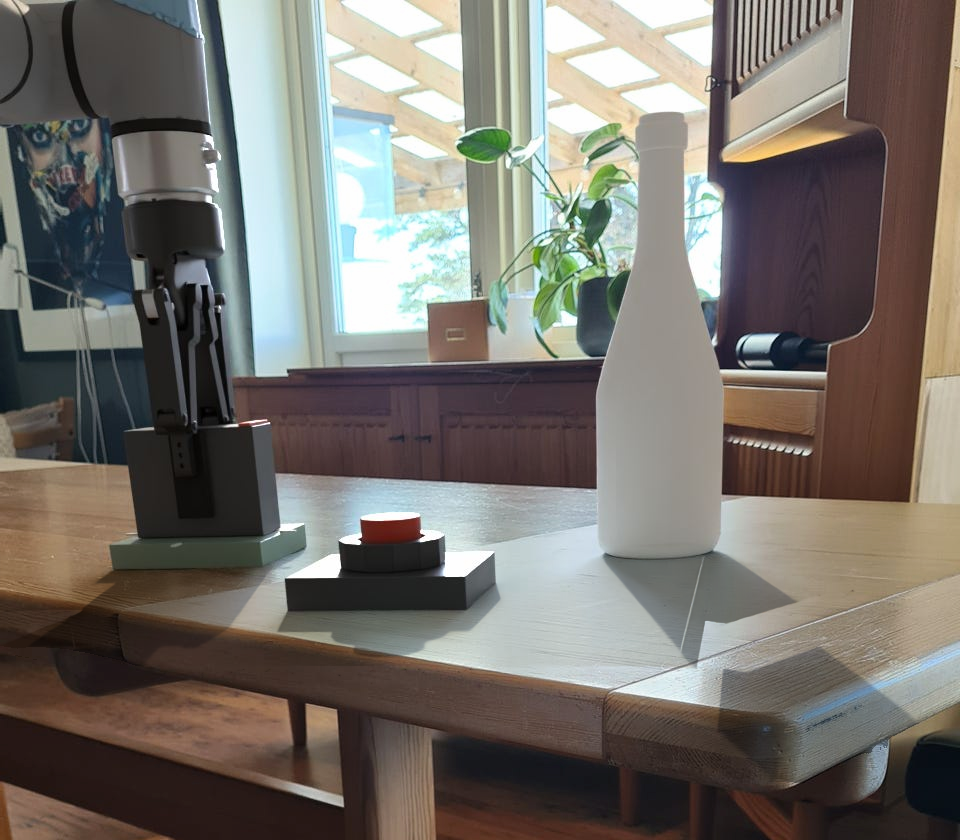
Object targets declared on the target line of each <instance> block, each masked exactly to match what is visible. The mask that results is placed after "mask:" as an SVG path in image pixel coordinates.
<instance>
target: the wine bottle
mask: <svg viewBox="0 0 960 840" xmlns="http://www.w3.org/2000/svg"><path fill="white" fill-rule="evenodd" d="M688 137H689V125H688V123H687V122H686V121H685V114H684V113H683V112H680V111H658V112H650V113H645V114H642V115H640V116H639V117H638V124H637V126H636V127H635V129H634V151H635V153H636V154H638V173H637V213H636V214H637V215H636V216H637V217H636V218H637V221H636V244H635V250H634V256H633V261H632V265H631V269H630V272H629V276H628V280H627V283H626V287H625V291H624V294H623V297H622V300H621V304H620V307H619V311H618V314H617V317H616V321H615V324H614V328H613V332H612V335H611V338H610V341H609V344H608V348H607V351H606V355H605V358H604V361H603V364H602V368H601V372H600V376H599V380H598V383H597V384H598V385H597V388H596V393H595V420H596V421H595V424H596V426H595V427H596V428H595V429H596V431H595V435H596V436H595V437H596V523H597V524H596V525H597V527H596V528H597V533H596V534H597V540H598V546H599V548H600V549H601V551H602V552H604V553H605V554H607V555H609V556H611V557H616V558H622V559H624V558H625V559H634V560H635V559H637V560H665V559H666V560H667V559H680V558H688V557H696V556H701V555H705V554H708V553H710V552H712V551H714V549H715V548H717V546H718V544H719V541H720V538H721V534H722V533H721V532H722V531H721V530H722V495H723V493H722V492H723V490H722V489H723V454H724V453H723V451H724V450H723V449H724V417H725V416H724V413H725V412H724V411H725V410H724V409H725V388H724V382H723V377H722V373H721V369H720V365H719V361H718V357H717V354H716V351H715V347H714V345H713V342H712V339H711V334H710V332H709V329H708V325H707V321H706V318H705V313H704V310H703V307H702V304H701V300H700V297H699V293H698V289H697V286H696V283H695V279H694V276H693V272H692V268H691V264H690V261H689V256H688V250H687V245H686V235H685V234H686V231H685V230H686V229H685V227H686V226H685V151H686V150H687V149H688V146H689V145H688V144H689V143H688V141H689V138H688Z"/></svg>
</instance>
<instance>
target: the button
mask: <svg viewBox="0 0 960 840" xmlns="http://www.w3.org/2000/svg"><path fill="white" fill-rule="evenodd" d="M421 521H422V520H421V514H419V513H415V512H384V513H375V514H374V513H373V514H368V515H364V516H361V517H359V523H360V534H361V538H362V542H398V541H409V540H414V539H419V538H422V536H421V530H422V522H421Z"/></svg>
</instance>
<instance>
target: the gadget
mask: <svg viewBox="0 0 960 840" xmlns="http://www.w3.org/2000/svg"><path fill="white" fill-rule="evenodd" d="M202 433H203V435H204V444H205V452H206V460H207V469H208V477H209V486H210V494H211V503H212V511H213V517H211V518H190V519H179V518H178V510H177V502H176V495H175V487H174V479H173V471H172V463H171V456H170V448H169V440H168V435H157V434H156V433H155V431H154V426H151V427H150V426H149V427H141V428H134V429H129V430H123V431H122V434H123V441H124V448H125V455H126V461H127V469H128V476H129V485H130V491H131V499H132V505H133V513H134V519H135V527H136V533H137V534H138V535H137V536H138V538H170V537H215V536H260V535H265V534H267V533H270V532H272V531H274V530H277V529H279V528H281V525H280V524H281V517H280V506H279V497H278V486H277V477H276V467H275V466H276V465H275V457H274V456H275V455H274V447H273V446H274V445H273V435H272V427H271V422H268V419H255V420H249V421H244V422H237V424H225V425H200V426H198V425H197V432H196V433H195V434H202Z"/></svg>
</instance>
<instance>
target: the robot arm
mask: <svg viewBox="0 0 960 840" xmlns="http://www.w3.org/2000/svg"><path fill="white" fill-rule="evenodd" d="M197 1H198V0H73V1H72V0H71V1H67V2H66V1H65V2H48V3H47V2H46V3H45V2H44V3H42V2H41V3H25V2H22V1H21V0H0V128H2V129H8V128H13V127H14V126H15V125H26V124H27V125H28V124H38V123H39V124H40V123H52V122H63V121H66V122H67V121H77V120H88V119H89V120H91V119H92V120H102V119H108V120H109V121H108V122H109V125H110V126H109V129H110V136H111V137H110V138H111V144H112V145H111V146H112V153H113V161H114V170H115V178H116V186H117V187H116V188H117V195H118V196H119V197H120V198H121V199H122V200H124V201H126V202H127V205H126V206H124V207H123V210H122V211H121V219H122V226H123V234H124V242H125V249H126V254H127V256H128V257H129V258H130V259H132V260H134V261H138V262H147V275H146V277H147V279H146V282H147V288H144V289H143V288H142V289H140V288H139V289H133V290H132V293H131V295H132V296H131V297H132V302H133V306H134V310H135V313H136V317H137V320H138V324H139V331H140V339H141V345H142V346H141V347H142V352H143V353H142V354H143V361H144V368H145V375H146V376H145V377H146V383H147V390H148V395H149V396H148V397H149V404H150V413H151V421H152V425H153V427H154V431H155V433H156V434H157V435H168V440H169V448H170V456H171V463H172V471H173V479H174V487H175V495H176V502H177V510H178V518H179V519H190V518H211V517H213V511H212V503H211V494H210V486H209V477H208V469H207V460H206V452H205V444H204V435H203V433H202V434H195V433H196V432H197V426H200V425H225V424H238V417H236V405H235V395H234V386H233V375H232V366H231V357H230V348H229V337H228V328H227V297H226V294H225V293H224V292H221V293H220V292H218V293H214V289H213V286H212V284H211V280H210V276H209V272H208V267H207V261H208V260H209V259H210V260H211V259H218V258H221V257H222V256H223V255H224V253H225V251H226V246H225V245H226V244H225V237H224V228H223V218H222V217H223V216H222V209H221V208H219V206H218V204H217V203H213V202H212V199H213V198H215V197H216V196H217V195H218V193H219V188H218V178H217V169H216V164H218V163H219V162H221V154H220V153H219V150H218V149H214V141H213V140H214V139H213V132H212V130H213V129H212V124H211V115H210V103H209V93H208V92H209V91H208V81H207V71H206V70H207V69H206V60H205V59H206V58H205V57H206V56H205V45H204V44H205V36H204V35H203V33H202V27H201V19H200V14H199V8H198V3H197Z"/></svg>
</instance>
